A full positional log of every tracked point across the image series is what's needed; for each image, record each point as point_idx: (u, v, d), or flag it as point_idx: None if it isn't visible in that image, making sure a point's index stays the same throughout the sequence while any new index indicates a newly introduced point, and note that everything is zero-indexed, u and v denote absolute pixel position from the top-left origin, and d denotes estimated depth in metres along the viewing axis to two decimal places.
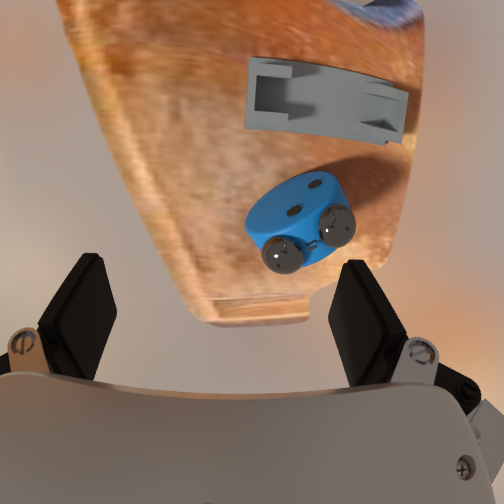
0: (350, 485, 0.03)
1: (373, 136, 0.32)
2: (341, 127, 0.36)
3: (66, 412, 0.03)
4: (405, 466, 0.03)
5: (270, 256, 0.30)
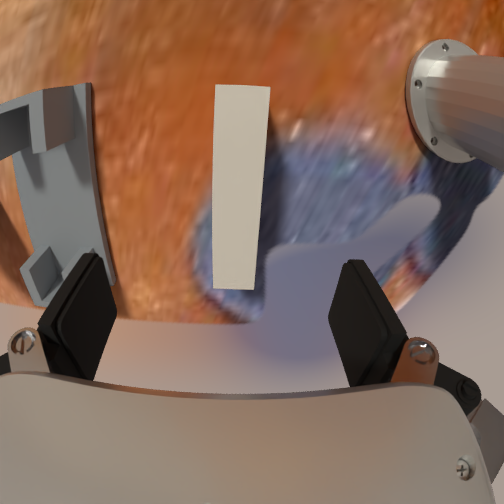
0: (350, 485, 0.03)
1: (21, 271, 0.21)
2: (35, 224, 0.24)
3: (66, 412, 0.03)
4: (405, 466, 0.03)
5: None
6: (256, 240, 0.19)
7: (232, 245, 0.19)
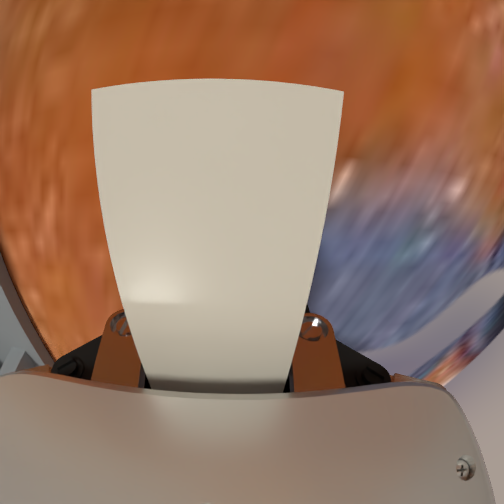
0: (350, 485, 0.03)
1: None
2: None
3: (66, 412, 0.03)
4: (405, 466, 0.03)
5: None
6: None
7: None
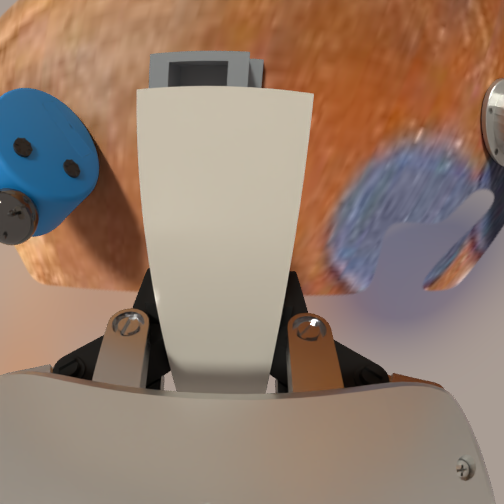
0: (350, 485, 0.03)
1: None
2: None
3: (66, 412, 0.03)
4: (405, 466, 0.03)
5: None
6: None
7: None
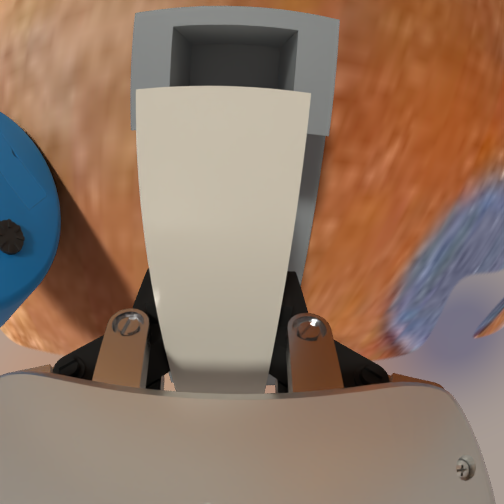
0: (350, 485, 0.03)
1: None
2: None
3: (66, 412, 0.03)
4: (405, 466, 0.03)
5: None
6: None
7: None
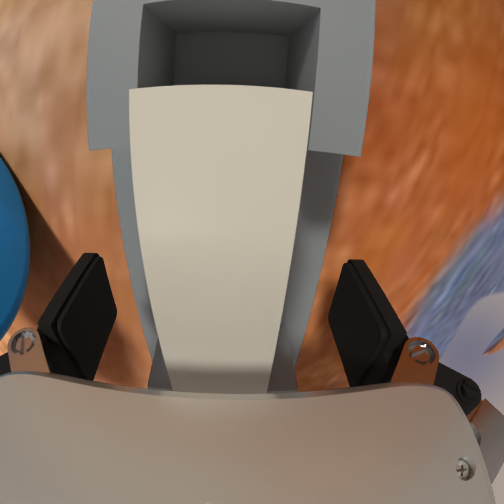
0: (350, 485, 0.03)
1: None
2: None
3: (66, 412, 0.03)
4: (405, 466, 0.03)
5: None
6: None
7: None
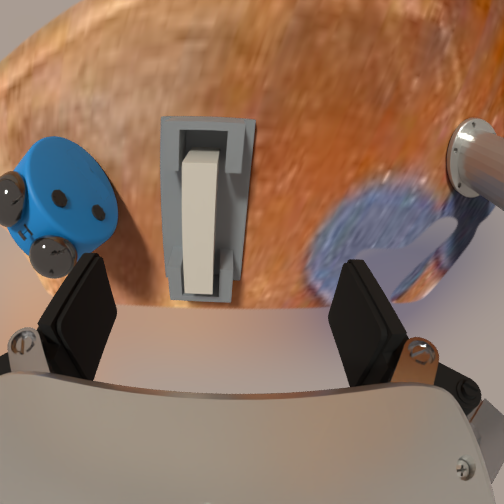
0: (350, 485, 0.03)
1: (169, 269, 0.31)
2: (174, 228, 0.34)
3: (66, 412, 0.03)
4: (405, 466, 0.03)
5: (2, 187, 0.16)
6: (212, 261, 0.28)
7: (196, 264, 0.28)
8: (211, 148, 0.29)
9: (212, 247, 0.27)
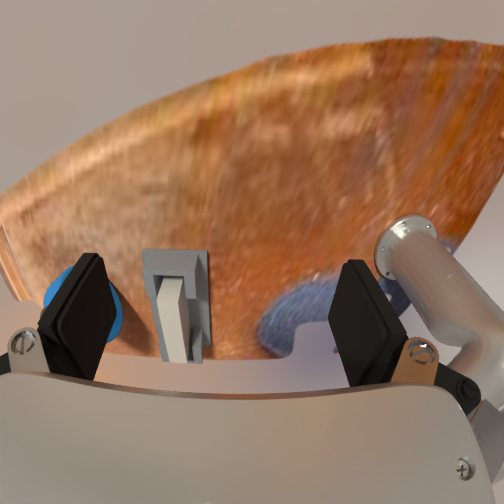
0: (350, 485, 0.03)
1: (159, 346, 0.46)
2: None
3: (66, 412, 0.03)
4: (405, 466, 0.03)
5: None
6: (184, 348, 0.42)
7: (174, 349, 0.43)
8: None
9: (182, 341, 0.42)
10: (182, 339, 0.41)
